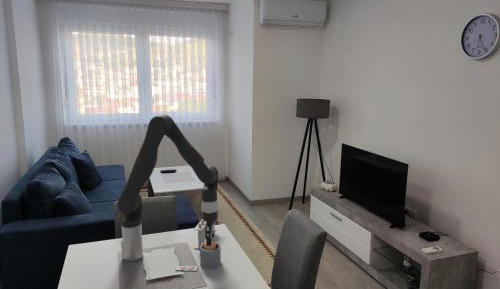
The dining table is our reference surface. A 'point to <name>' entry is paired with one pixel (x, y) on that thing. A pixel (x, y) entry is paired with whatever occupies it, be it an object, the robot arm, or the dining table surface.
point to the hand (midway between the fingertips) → (210, 241)
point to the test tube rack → (201, 233)
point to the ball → (210, 248)
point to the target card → (189, 268)
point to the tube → (210, 257)
